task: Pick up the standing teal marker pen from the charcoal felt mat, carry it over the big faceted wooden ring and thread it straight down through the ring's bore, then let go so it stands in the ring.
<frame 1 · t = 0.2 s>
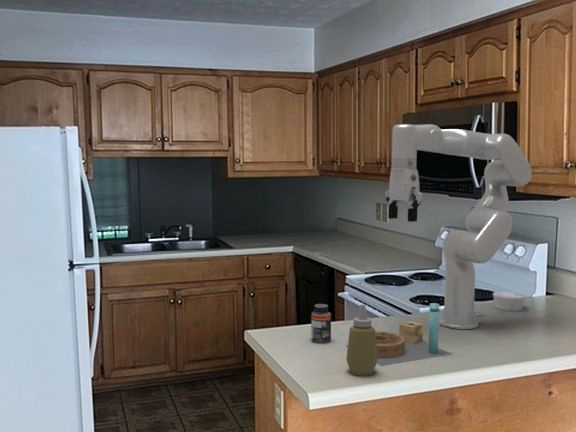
hand: (402, 219, 193), 36 cm above the worktop, tool pointing down, fingers open, 9 cm apart
faceted wooden ring: (379, 350, 179), resting on felt mat
squeeze bottle: (361, 373, 161), on the worktop
teal marker pen: (433, 352, 177), resting on felt mat
ramekin: (508, 309, 230), on the worktop
cube bead: (410, 340, 189), resting on felt mat
felt mat: (397, 351, 179), on the worktop
supplement bottle: (321, 342, 188), on the worktop
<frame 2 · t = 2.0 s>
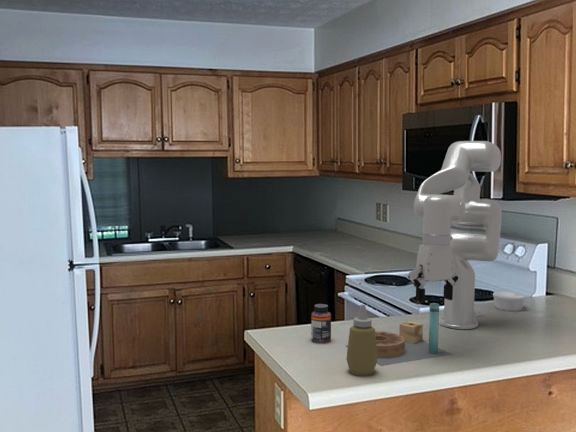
hand: (434, 300, 175), 16 cm above the worktop, tool pointing down, fingers open, 9 cm apart
nothing on the worktop moved.
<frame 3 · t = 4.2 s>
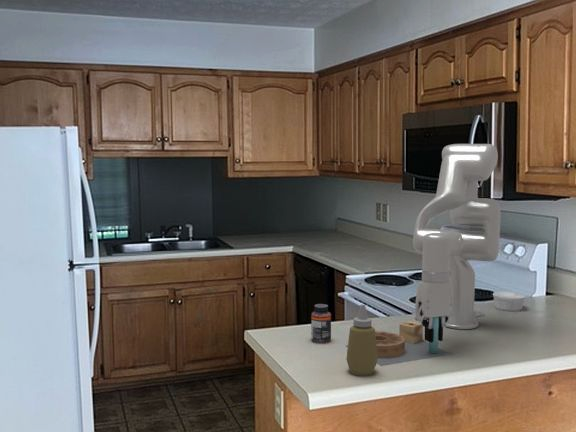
hand: (433, 340, 177), 4 cm above the worktop, tool pointing down, fingers closed on teal marker pen, 2 cm apart
teal marker pen: (433, 352, 177), resting on felt mat, touching gripper
everything else where it was.
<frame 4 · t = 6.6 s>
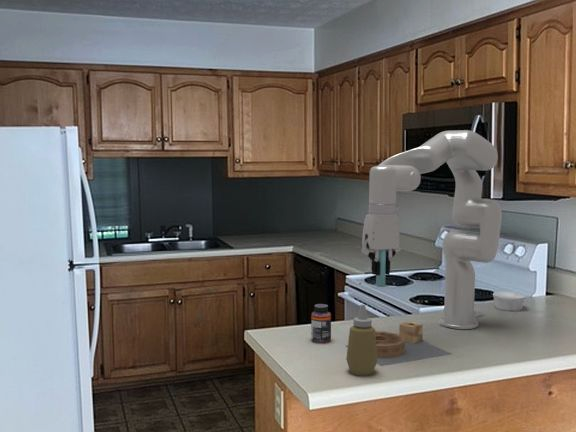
hand: (380, 273, 177), 23 cm above the worktop, tool pointing down, fingers closed on teal marker pen, 2 cm apart
teal marker pen: (380, 286, 177), point 19 cm above the worktop, touching gripper
everything else where it was.
when the fingers open (5 cm above the worktop, at t = 9.4 s): teal marker pen drops 1 cm, resting on felt mat.
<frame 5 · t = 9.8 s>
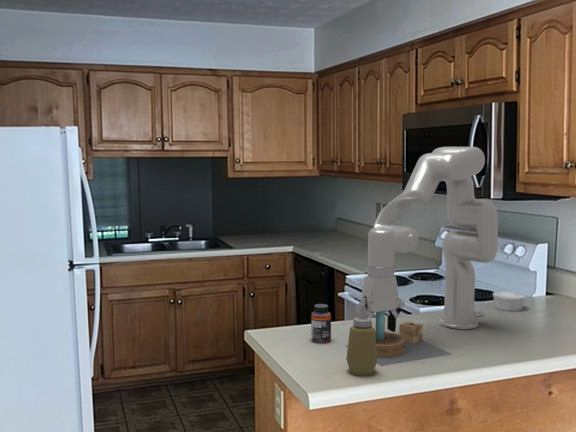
hand: (379, 331, 178), 6 cm above the worktop, tool pointing down, fingers open, 7 cm apart
teal marker pen: (379, 350, 179), resting on felt mat
everything else where it was.
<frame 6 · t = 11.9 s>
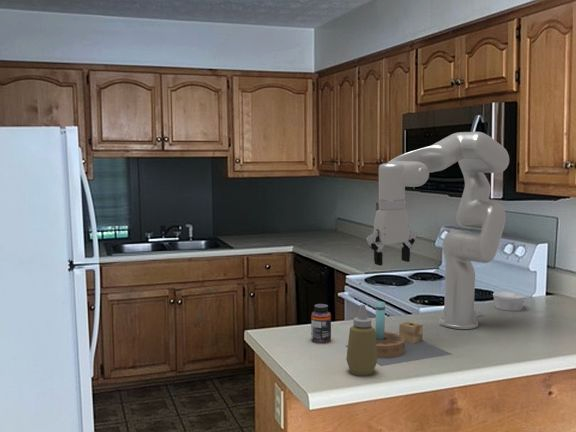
hand: (392, 262, 184), 25 cm above the worktop, tool pointing down, fingers open, 9 cm apart
nothing on the worktop moved.
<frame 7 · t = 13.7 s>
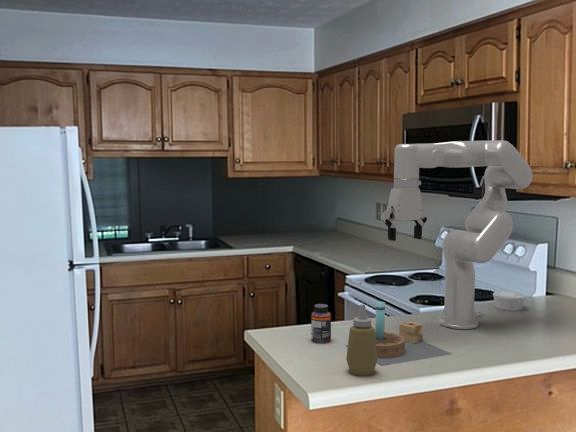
hand: (404, 239, 193), 30 cm above the worktop, tool pointing down, fingers open, 9 cm apart
nothing on the worktop moved.
at the end: teal marker pen 0.1 cm off-centre on the faceted wooden ring, point 0.0 cm above the faceted wooden ring's base; teal marker pen tilted 0°; the gripper is holding nothing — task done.
